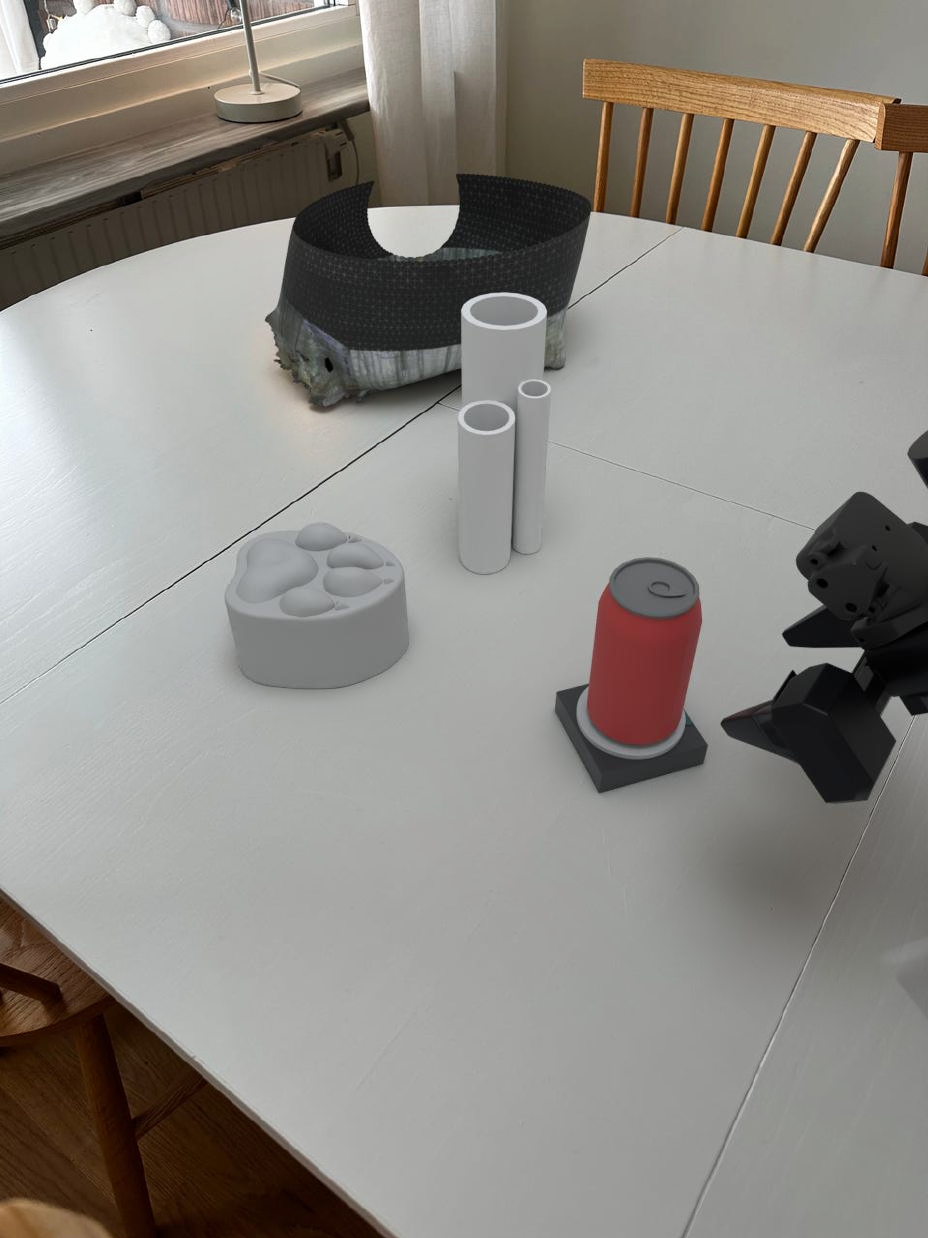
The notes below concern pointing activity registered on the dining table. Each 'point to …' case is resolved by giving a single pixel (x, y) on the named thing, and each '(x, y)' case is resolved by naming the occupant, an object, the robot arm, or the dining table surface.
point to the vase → (502, 429)
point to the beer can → (643, 650)
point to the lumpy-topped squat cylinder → (316, 608)
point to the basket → (418, 284)
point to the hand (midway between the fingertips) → (756, 681)
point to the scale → (625, 746)
